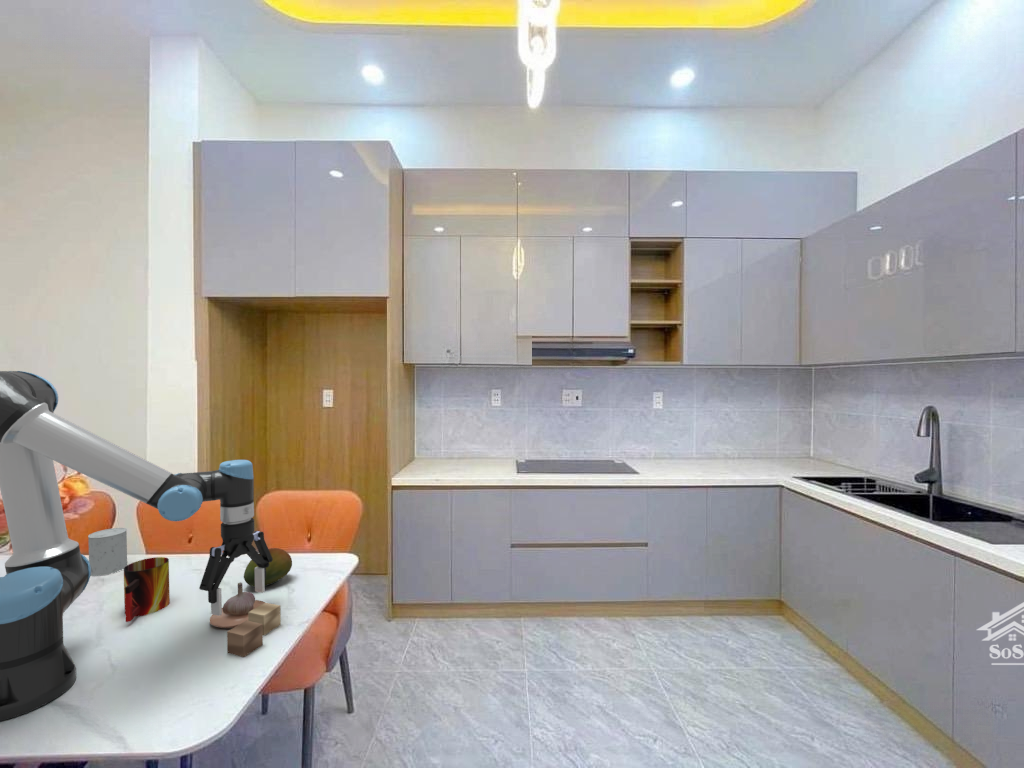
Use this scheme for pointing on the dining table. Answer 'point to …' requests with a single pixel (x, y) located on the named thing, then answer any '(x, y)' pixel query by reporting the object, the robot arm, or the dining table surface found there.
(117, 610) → the dining table surface
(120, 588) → the dining table surface
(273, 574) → the fruit
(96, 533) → the grey concrete cylinder
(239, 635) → the walnut block
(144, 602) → the mug
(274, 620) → the oak block
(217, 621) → the peach ellipsoid
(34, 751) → the dining table surface
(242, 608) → the garlic bulb
